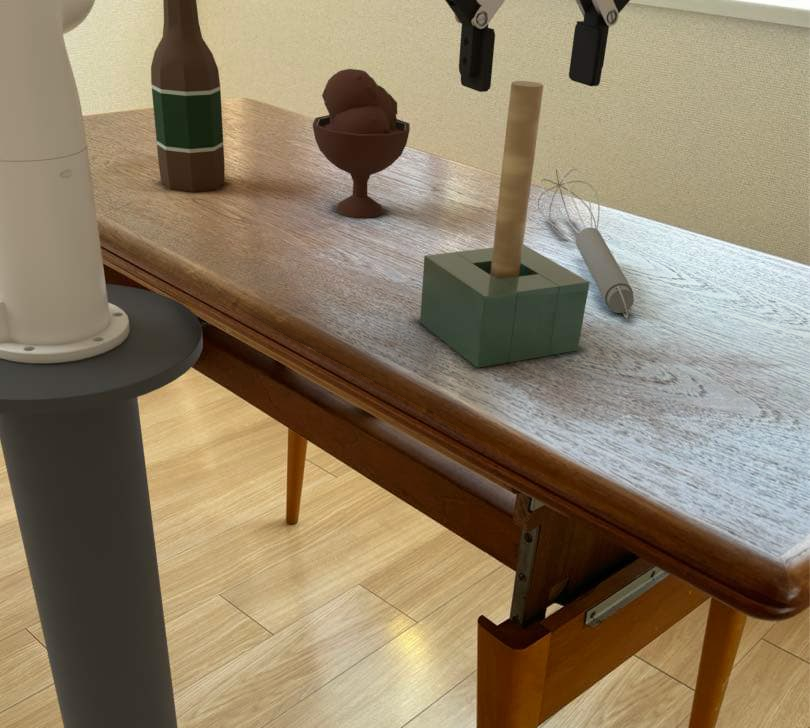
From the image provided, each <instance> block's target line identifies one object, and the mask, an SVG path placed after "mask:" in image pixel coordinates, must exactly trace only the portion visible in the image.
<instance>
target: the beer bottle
mask: <svg viewBox="0 0 810 728" xmlns="http://www.w3.org/2000/svg"><path fill="white" fill-rule="evenodd" d="M162 1H163V2H162V3H163V27H162V37H161V39H160V41H159V42H158V45H157V46H156V48H155V50H154V53H153V57H152V61H151V65H150V83H151V84H150V85H151V95H152V106H153V115H154V116H153V117H154V129H155V138H156V139H155V140H156V149H157V160H158V168H159V175H160V181H161V183H162V184H163V185H165V186H166V187H168V188H169V190H173V191H181V192H191V193H195V192H206V191H214V190H216V189H218V188H219V187H221V186H222V185H224V183H225V179H226V177H225V169H226V168H225V167H226V165H225V147H224V130H223V115H222V114H223V111H222V93H221V91H222V90H221V81H220V74H219V73H220V72H219V67H218V65H217V62H216V59H215V57H214V54H213V52H212V50H211V49H210V48H209V46H208V44H207V43H206V42H205V40H204V38H203V35H202V30H201V27H200V21H199V14H198V5H197V0H162Z"/></svg>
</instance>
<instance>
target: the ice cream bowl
mask: <svg viewBox="0 0 810 728" xmlns="http://www.w3.org/2000/svg"><path fill="white" fill-rule="evenodd" d="M321 97H322V99H323V102H324V106H325V108H326V110H327V112H328V114H327V115H321V116H319V117H315V118H314V120H313V121H312V130H313V134H314V140H315V142H316V144H317V147H318V149H319V151H320V152H321V154H323V156H324V157H325V159H326V160H328V162H330V163H331V164H332V165H334V166H335V167H336V168H338V169H339V170H341V171H343V172H346V173H347V174H350V177H351V180H352V194H351V195H349V196H348V197H346V198H343V200H341V201H339V202H338V204H337V207H336V213H338V214H340V215H342V216H344V217H350V218H357V219H363V218H364V219H365V218H375V217H378V216H381V215H383V207H382V204H381V203H379V202H377V201H376V200H375V199H373V198H372V197H371V196H369V195H368V182H369V179H370V178H371V175H374V174H378V173H381V172H383V171H384V170H386V169H387V168H388V167H391V166H392V165H393V164H394V163H395V162H396V161H397V160H398V159H399V158H400V157H401V156H402V155H403V152H404V150H405V148H406V146H407V143H408V139H409V135H410V131H411V130H410V128H411V127H410V126H411V125H410V123H409V122H406V121H404V120H401V119H398V118H397V115H398V101H396V99H395V98H394V97H393V96H392V95H391V94H390V93H389V92H388V91H387V90H386V89H385V88H384V87H383V86H382V85H380V84H378V83H377V82H376V81H375V79H374V78H373V77H371V76H370V74H369V73H368V72H366V71H365V70H363V69H355V68H347V69H346V68H345V69H341V70H339V71H337V72H336V73H334V74H333V75H332V76H331V77H330V78H329V79H328V80H327V82H326V84H325V86H324V89H323V91H322V95H321Z"/></svg>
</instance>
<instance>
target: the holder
mask: <svg viewBox="0 0 810 728" xmlns="http://www.w3.org/2000/svg"><path fill="white" fill-rule="evenodd" d="M492 254H493V247H486V248H477V249H467V250H461V251H453V252H444V253H435V254H427V255H424V259H423V272H422V287H421V300H420V301H421V302H420V316H419V323H420V324H421V325H422V326H423V327H425V328H426V329H427V330H429V331H430V332H431V333H433V334H434V335H435V336H437V337H438V338H439V339H440V340H441V341H443V342H444V343H446V345H448V346H449V347H450V348H451V349H452V350H454V351H455V352H457V353H458V354H459V355H460V356H462V357H463V358H465V360H466V361H468V362H469V363H470V364H472V365H473V366H474V367H475V368H478V369H479V368H485V367H490V366H496V365H502V364H507V363H513V362H520V361H525V360H530V359H537V358H542V357H543V358H544V357H549V356H554V355H561V354H566V353H571V352H576V351H578V350H579V345H580V340H581V334H582V329H583V323H584V318H585V311H586V306H587V300H588V296H589V295H588V294H589V288H590V281H588V279H585V278H583V277H581V276H580V275H578V274H577V273H574V272H573V271H571V270H569V269H568V268H566V267H564V266H563V265H560V264H559V263H557V262H555V261H554V260H553V259H550V258H548V257H547V256H545V255H543V254H541V253H539V252H538V251H536V250H534V249H533V248H531V247H529V246H527V245H525V244H524V243H523V249H522V257H521V265H520V273H519V277H513V278H505V279H498V280H497V279H496V278H494V277H493V276H491V275H490V272H491V263H492Z"/></svg>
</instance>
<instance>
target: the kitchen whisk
mask: <svg viewBox="0 0 810 728" xmlns="http://www.w3.org/2000/svg"><path fill="white" fill-rule="evenodd" d="M576 170H577V171H578V172H579V173H580V174H581V176H582V178H583V180H584V181H583V180H571V181H566V179H565V178H566V177H567V176H568V175H569V174H570V173H572V171H576ZM555 172H556V173H555V176H556V179H557V180H556V181H557V182H555V181H552V180H550V179H545V178H542V179H541V180H540V182H539V183H540V187H541V189H542V190H543V192H542V194H540V196H539V198H538V199H537V209H538V212H539V213H540V215H542V217H543V218H544V219H545V220H546V221H547V222H548V223H549V224H550V225H551V227H552V229H553V230H554V231H555V233H556V234H557V235H558V236H560V237H561V238H562V239H564V240H566V241H567V242H570V243H571V244H574V245H575V246H576V248H577V250H578V252H579V254H580V256H581V257H582V260H583V261H584V263H585V266H586V267H587V270H588V271H589V274H590V276H591V278H592V279H593V282H594V283H595V286H596V288H597V289H598V292H599V293H600V296H601V297H602V299H603V301H604V303H605V305H606V307H608V309H610V310H611V311H612V312H614V313H617V314H618V313H619V314H621V313H622V315H623V316H624V317H625V318H626V319H628V318H629V311H628V310H630V309H631V308H632V306H633V305H634V302H635V296H634V290H633V288H632V286H631V285H630V282H629V281H628V279H627V278H626V276H625V274H624V272H623V271H622V269H621V267H620V265H619V263H618V262H617V260H616V259H615V257H614V255H613V253H612V251H611V250H610V248H609V246H608V245H607V243H606V241H605V239H604V237H603V235H602V234H601V232H600V231H599V222H600V211H601V209H600V208H601V207H600V199H599V195H598V193H597V191H596V189H595V187H594V186H593V185H591V184H590V183H589V182H587V179H586V177H585V175H584V173H583V172H582V170H580V169H579V168H577V167H576V168H571V169H570V170H568V172H567V173H565V175H563V173H562V172H561V169H559V167H556V169H555ZM558 172H559V174H560V176H561V178H562V179H561V181H560V180H559V176H558V175H559V174H558ZM542 181H544V182H545V181H546V182H550V183H552V184H554V185H555V186H553V187H549V188H548V189H546V190H545V188H544V186H543V183H542ZM571 183H582V184H585V187H586V192H587V196H588V197H587V198H588V204H589V206H588V205H587V203H586V202H585V201H584V200H583V199H582V198H581V197H580V196H578V195H577V194H575V193H574V192H573V191H572V190H570V188H569V185H568V184H571ZM564 185H565V186H566V187H564ZM589 187H591V188H592V190H593V192H594V193H595V196H596V199H597V211H598V212H597V223H596V219H595V216H594V214H593V212H592V204H591V203H592V202H591V198H590V191H589ZM555 188H556V189H555ZM561 188H562V189H564V190H566V191H568V193H569V195H570V197H571V200H572V202H573V205H574V207H575V210H576V211H577V215H578V217H579V219H580V222H581V224H582V227H583V229H581V230H580V231H579V230H578V229H577V228H576V227H575V225H574V224H573V222H572V219H571V217H570V214H569V212H568V209H567V206H566V203H565V200H564V197H563V192H562V189H561ZM553 189H555V192H554V193H553V195H552V198H551V197H550V196H549V194H548V193H547V192H548V191H551V190H553ZM558 190H559V192H560V197H561V200H562V203H563V206H564V209H565V212H566V214H567V217H566V216H565V214H564V213H563V212H562V211H561V210H560V209H559V207H558V206H557V205H556V204H555V202H554V198H555V197H556V194H557V193H558ZM544 195H546V197H547V198H548V199H549V201H550V204H549V209H548V210H549V211H548V217H549V219H548V218H547V216H546V215H544V213H543V212H542V210H541V208H540V200H541V199H542V196H544ZM573 196H574V197H576V198H577V199H579V201H580V202H581V203H583V204H584V206H585V207H586V208H587V209H588V211H589V214H590V227H586V226H585V223H584V221H583V219H582V216H581V213H580V211H579V208H578V207H577V204H576V201H575V199H574V197H573ZM552 205H553V206H554V207H555V208H556V210H557V211H558V212H559V213H560V215H561V216H562V217H563V218H564V219H565V220H566V222H568V224H569V225H570V226H571V227H572V228H573V230H574V231H575V233H576V237H574V236H573V235H571V234H569V233H567V232H566V231H564V230H563V229H561V228H559V227H558V226H557V225H555V224H554V223H553V222H552V217H551V210H552ZM593 224H594V227H593ZM559 231H560V232H562V233H563V234H565V235H566V236H567V237H570V238H571V239H573V240H575V241H573V240H571V239H568V238H566V237H564V236H563V235H562V234H561V233H559ZM625 312H626V313H625Z"/></svg>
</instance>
